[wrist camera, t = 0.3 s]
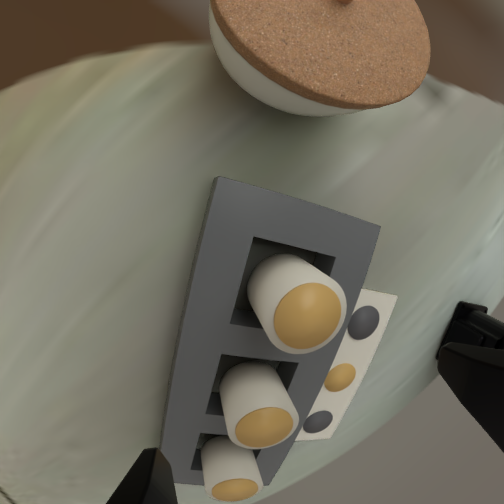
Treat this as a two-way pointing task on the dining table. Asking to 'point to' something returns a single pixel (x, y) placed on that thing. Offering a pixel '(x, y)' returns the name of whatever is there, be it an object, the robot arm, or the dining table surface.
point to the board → (252, 314)
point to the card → (349, 364)
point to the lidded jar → (322, 52)
